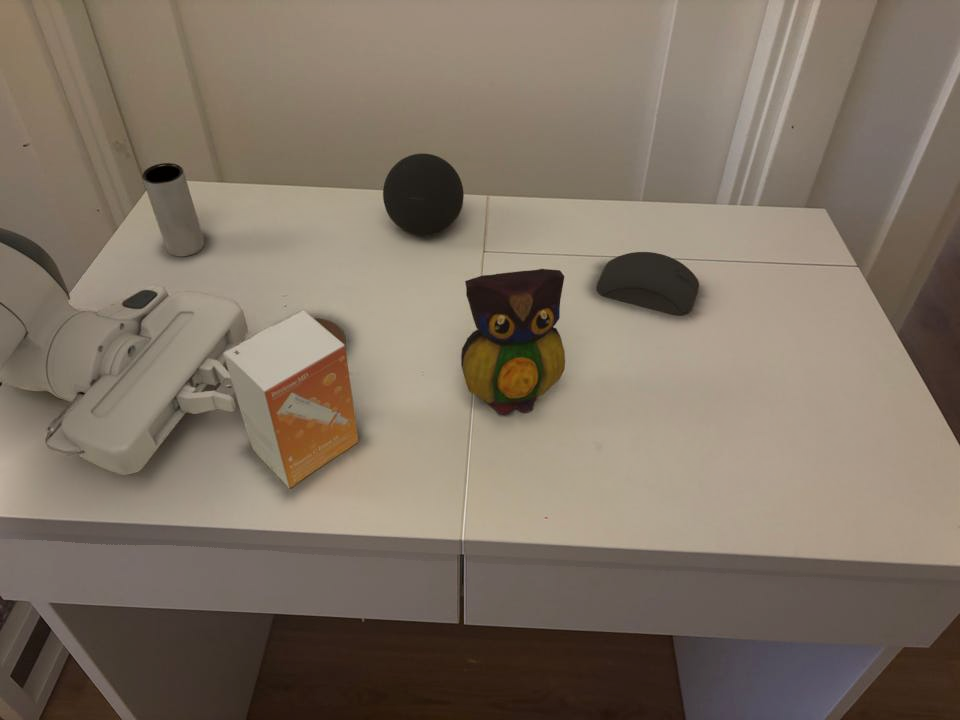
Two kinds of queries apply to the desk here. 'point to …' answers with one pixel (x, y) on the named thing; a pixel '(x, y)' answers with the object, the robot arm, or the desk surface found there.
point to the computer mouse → (650, 282)
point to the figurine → (514, 338)
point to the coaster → (332, 329)
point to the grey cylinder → (173, 208)
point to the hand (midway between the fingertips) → (240, 395)
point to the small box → (294, 396)
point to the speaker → (423, 194)
